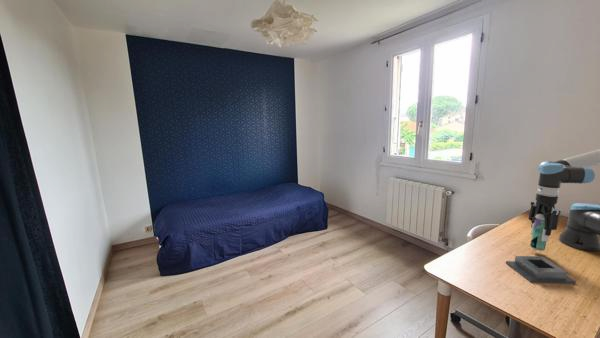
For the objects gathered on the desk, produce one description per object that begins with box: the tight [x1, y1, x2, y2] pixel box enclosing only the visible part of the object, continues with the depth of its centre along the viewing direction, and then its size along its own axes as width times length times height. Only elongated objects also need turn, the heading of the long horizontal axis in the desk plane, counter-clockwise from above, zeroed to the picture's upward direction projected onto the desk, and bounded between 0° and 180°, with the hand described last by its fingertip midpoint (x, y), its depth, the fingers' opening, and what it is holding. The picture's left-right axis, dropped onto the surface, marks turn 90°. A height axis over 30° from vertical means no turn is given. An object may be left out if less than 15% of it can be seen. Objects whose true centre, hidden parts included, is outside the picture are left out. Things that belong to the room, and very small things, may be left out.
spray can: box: [529, 212, 547, 252], centre depth 123 cm, size 6×6×20 cm
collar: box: [505, 255, 577, 285], centre depth 110 cm, size 18×14×4 cm
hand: (539, 237), depth 124 cm, fingers closed on spray can, 5 cm apart
